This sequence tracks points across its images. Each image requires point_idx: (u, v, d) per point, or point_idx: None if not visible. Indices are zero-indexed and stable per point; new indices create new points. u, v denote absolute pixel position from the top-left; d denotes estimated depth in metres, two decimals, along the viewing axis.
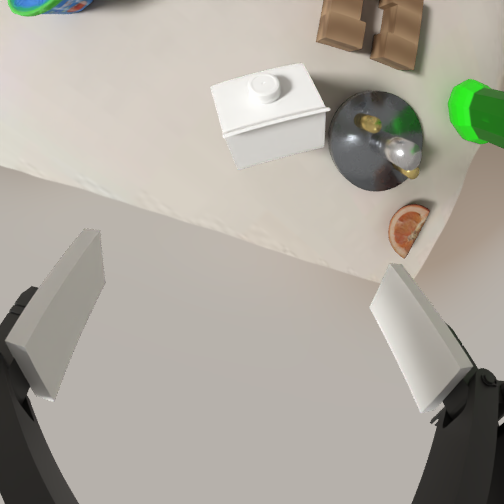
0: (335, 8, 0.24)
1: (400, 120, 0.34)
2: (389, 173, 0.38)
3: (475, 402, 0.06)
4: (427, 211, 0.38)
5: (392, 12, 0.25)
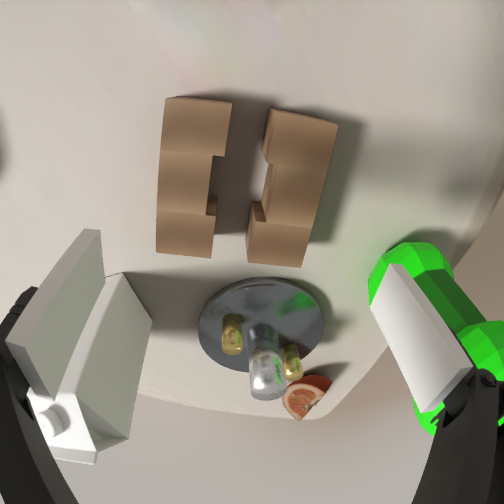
0: (163, 205, 0.22)
1: (289, 311, 0.31)
2: None
3: (475, 402, 0.06)
4: (323, 392, 0.35)
5: (273, 173, 0.22)
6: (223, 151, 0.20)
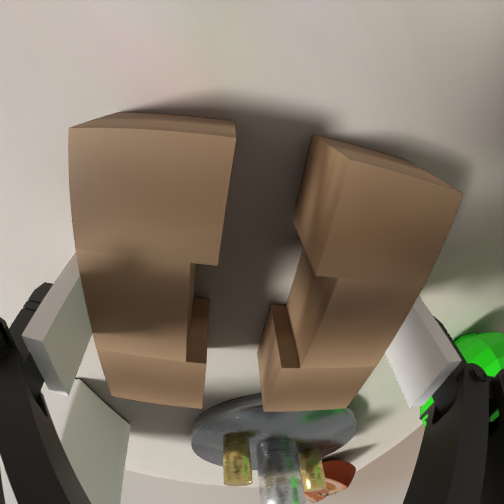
0: (106, 343, 0.10)
1: (314, 426, 0.20)
2: None
3: (464, 398, 0.07)
4: (345, 486, 0.24)
5: (320, 281, 0.11)
6: (215, 255, 0.09)
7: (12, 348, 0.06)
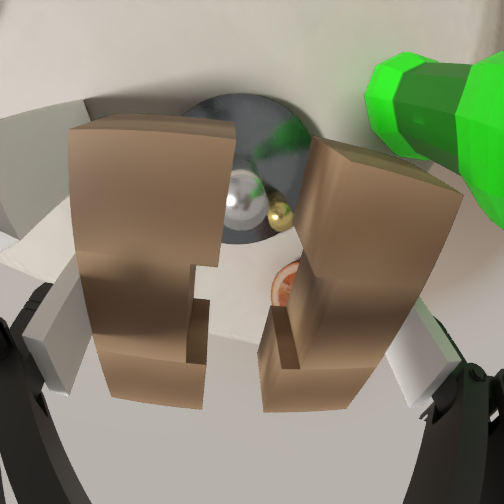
0: (106, 344, 0.10)
1: (271, 134, 0.24)
2: None
3: (464, 398, 0.07)
4: None
5: (320, 282, 0.11)
6: (215, 256, 0.09)
7: (12, 348, 0.06)
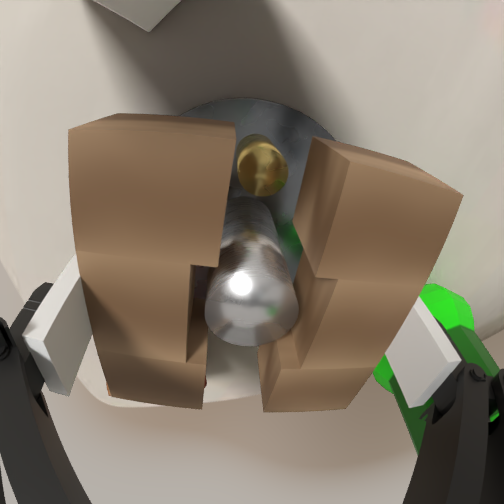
0: (106, 344, 0.10)
1: None
2: (201, 282, 0.19)
3: (464, 398, 0.07)
4: None
5: (320, 282, 0.11)
6: (215, 256, 0.09)
7: (12, 348, 0.06)
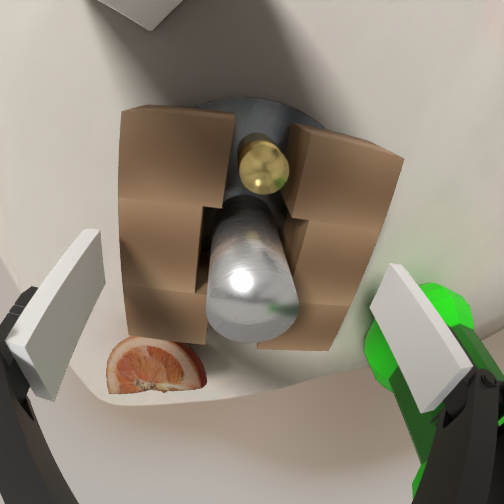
0: (132, 279, 0.14)
1: None
2: None
3: (475, 402, 0.06)
4: (199, 384, 0.20)
5: (298, 228, 0.15)
6: (220, 200, 0.12)
7: None
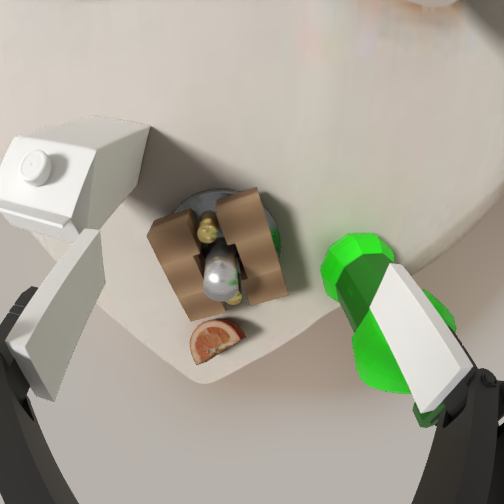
0: (180, 294, 0.33)
1: None
2: None
3: (475, 402, 0.06)
4: (238, 338, 0.38)
5: None
6: (197, 251, 0.31)
7: None
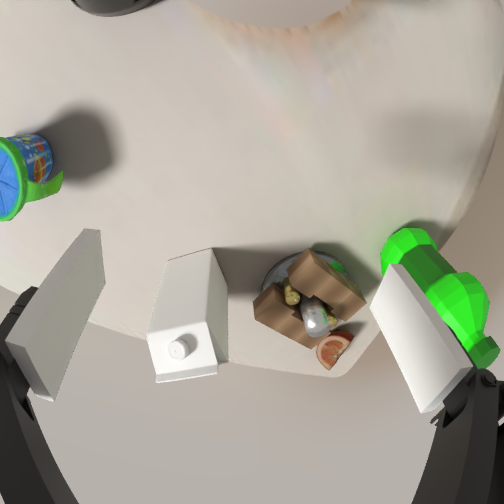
0: (295, 338, 0.46)
1: None
2: None
3: (475, 402, 0.06)
4: (348, 341, 0.49)
5: None
6: (292, 310, 0.43)
7: None
